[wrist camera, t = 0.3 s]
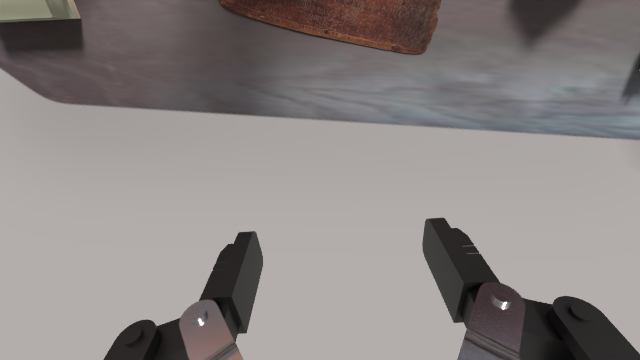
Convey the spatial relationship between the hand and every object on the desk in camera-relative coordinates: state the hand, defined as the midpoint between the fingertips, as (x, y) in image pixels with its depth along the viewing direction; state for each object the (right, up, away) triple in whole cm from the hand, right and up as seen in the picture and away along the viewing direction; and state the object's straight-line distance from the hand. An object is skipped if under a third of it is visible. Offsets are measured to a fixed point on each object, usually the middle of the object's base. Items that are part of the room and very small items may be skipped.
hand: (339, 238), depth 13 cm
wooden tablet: (+1, +25, +20) cm, 32 cm away
